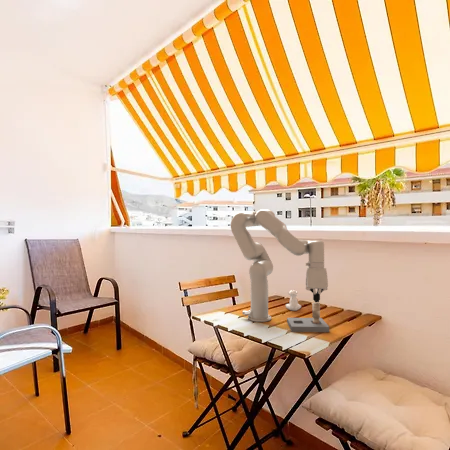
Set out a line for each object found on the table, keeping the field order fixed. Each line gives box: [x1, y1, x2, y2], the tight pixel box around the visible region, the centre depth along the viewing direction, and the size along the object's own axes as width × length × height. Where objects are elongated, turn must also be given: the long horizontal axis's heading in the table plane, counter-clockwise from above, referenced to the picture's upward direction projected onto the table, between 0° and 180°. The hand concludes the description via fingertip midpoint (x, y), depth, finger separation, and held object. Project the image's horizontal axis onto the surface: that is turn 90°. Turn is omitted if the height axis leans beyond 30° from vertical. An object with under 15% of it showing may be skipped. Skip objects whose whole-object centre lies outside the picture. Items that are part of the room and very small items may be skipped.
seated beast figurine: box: [285, 289, 302, 312], centre depth 193 cm, size 10×9×12 cm
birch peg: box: [311, 302, 321, 324], centre depth 161 cm, size 4×4×12 cm
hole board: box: [286, 317, 330, 333], centre depth 161 cm, size 18×14×2 cm
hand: (316, 301), depth 161 cm, fingers closed
